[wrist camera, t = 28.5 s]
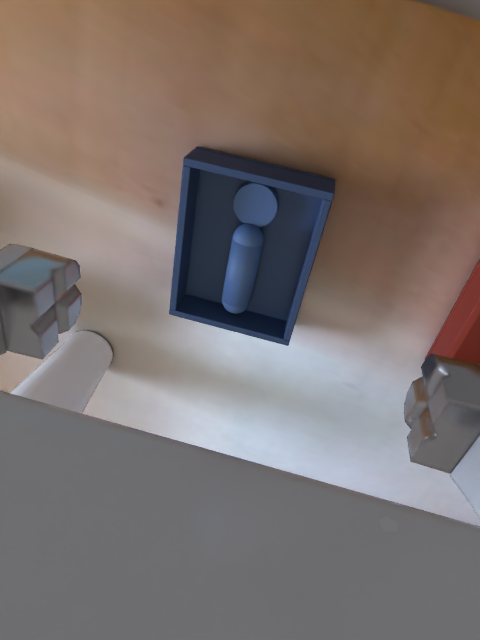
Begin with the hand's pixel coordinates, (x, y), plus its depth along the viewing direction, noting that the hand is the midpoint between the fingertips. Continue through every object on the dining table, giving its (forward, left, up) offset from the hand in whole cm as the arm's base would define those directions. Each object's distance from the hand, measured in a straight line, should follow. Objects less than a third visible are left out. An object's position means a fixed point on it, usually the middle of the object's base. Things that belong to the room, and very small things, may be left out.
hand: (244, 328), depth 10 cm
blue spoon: (+11, -3, -26) cm, 29 cm away
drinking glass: (+28, -18, -27) cm, 43 cm away
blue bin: (+11, -3, -27) cm, 29 cm away
